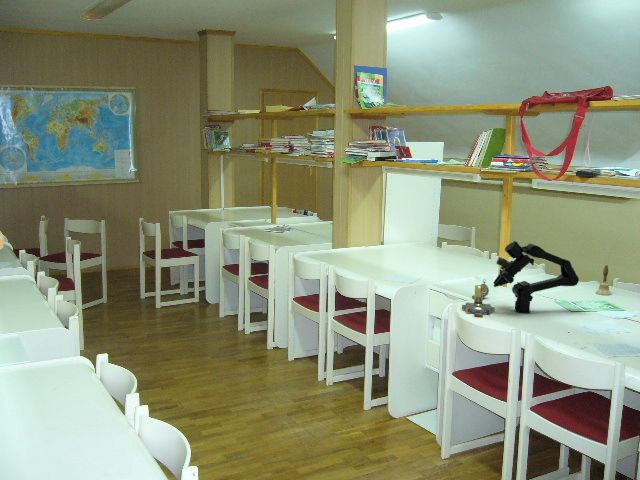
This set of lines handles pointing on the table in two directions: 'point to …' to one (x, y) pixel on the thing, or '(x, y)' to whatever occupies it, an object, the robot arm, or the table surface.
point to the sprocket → (478, 303)
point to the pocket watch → (485, 287)
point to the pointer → (478, 315)
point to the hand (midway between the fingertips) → (493, 284)
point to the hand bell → (604, 284)
